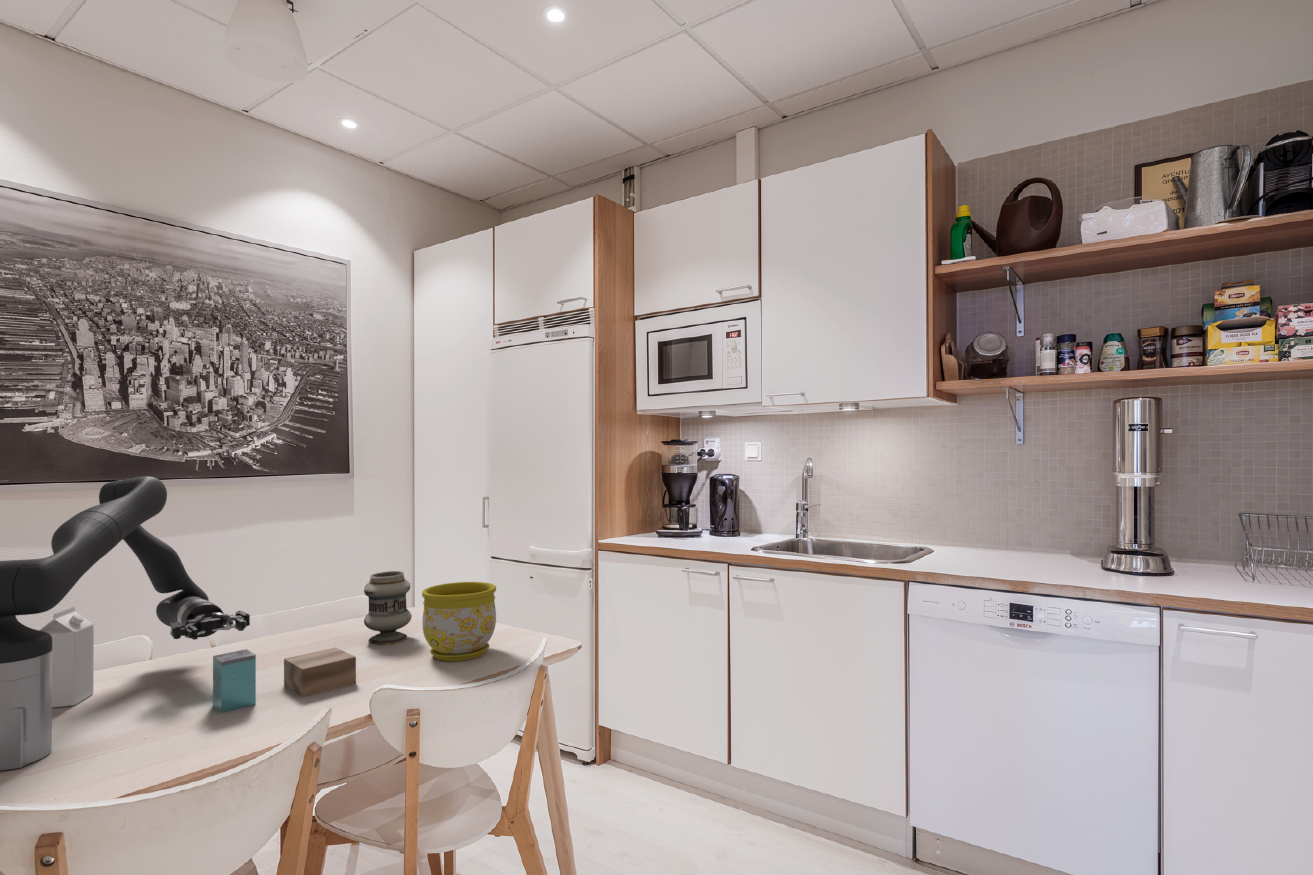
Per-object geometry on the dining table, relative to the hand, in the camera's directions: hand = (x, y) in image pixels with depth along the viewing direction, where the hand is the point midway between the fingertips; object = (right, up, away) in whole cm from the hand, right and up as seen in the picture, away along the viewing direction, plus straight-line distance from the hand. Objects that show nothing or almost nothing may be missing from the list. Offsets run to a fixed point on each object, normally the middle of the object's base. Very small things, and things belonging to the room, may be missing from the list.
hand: (219, 630), depth 142 cm
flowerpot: (+45, -13, +24) cm, 52 cm away
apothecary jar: (+21, -14, +38) cm, 46 cm away
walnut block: (+20, -13, +3) cm, 24 cm away
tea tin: (+8, -13, -8) cm, 17 cm away
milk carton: (-29, -14, -5) cm, 32 cm away
